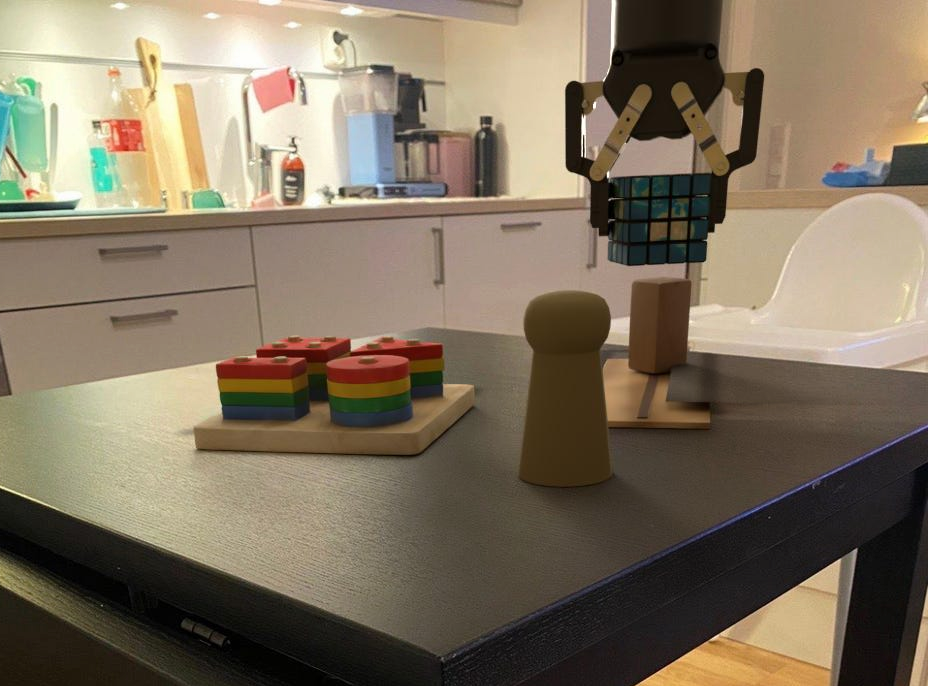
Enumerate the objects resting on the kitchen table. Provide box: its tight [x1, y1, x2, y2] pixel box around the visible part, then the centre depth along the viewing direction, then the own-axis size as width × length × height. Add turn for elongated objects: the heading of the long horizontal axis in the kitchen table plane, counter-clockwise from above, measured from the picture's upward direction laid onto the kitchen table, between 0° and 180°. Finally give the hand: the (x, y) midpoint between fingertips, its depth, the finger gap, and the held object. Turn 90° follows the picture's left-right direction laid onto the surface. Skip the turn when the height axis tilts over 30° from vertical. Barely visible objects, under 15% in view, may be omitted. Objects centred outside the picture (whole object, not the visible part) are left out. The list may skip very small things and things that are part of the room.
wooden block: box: [627, 276, 692, 374], centre depth 89 cm, size 4×4×8 cm
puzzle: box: [607, 171, 712, 267], centre depth 73 cm, size 6×6×6 cm
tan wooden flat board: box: [602, 358, 712, 430], centre depth 85 cm, size 10×28×1 cm, turn 166°
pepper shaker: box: [517, 289, 614, 488], centre depth 60 cm, size 6×6×11 cm
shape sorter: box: [193, 335, 476, 456], centre depth 76 cm, size 18×17×6 cm
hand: (656, 233), depth 73 cm, fingers closed on puzzle, 7 cm apart
